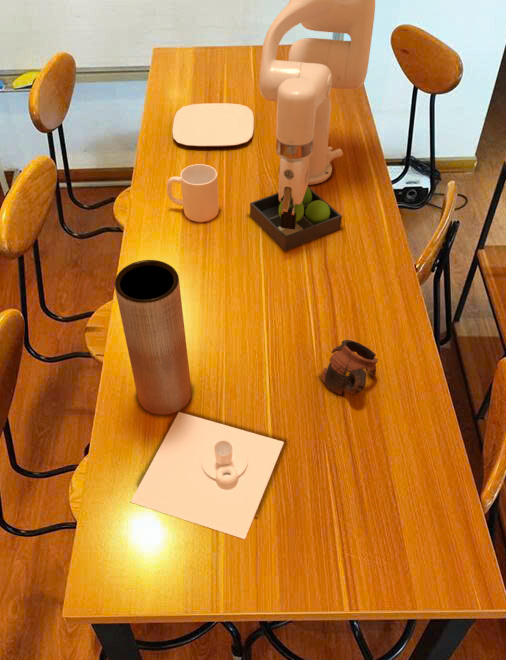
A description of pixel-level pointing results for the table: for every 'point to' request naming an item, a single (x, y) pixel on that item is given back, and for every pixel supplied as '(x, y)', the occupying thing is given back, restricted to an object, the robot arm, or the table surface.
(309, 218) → the lime back right
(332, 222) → the rack
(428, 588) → the table surface
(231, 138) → the plate
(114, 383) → the table surface
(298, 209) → the lime
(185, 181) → the cup
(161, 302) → the vase
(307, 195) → the lime back left
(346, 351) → the pottery mug
